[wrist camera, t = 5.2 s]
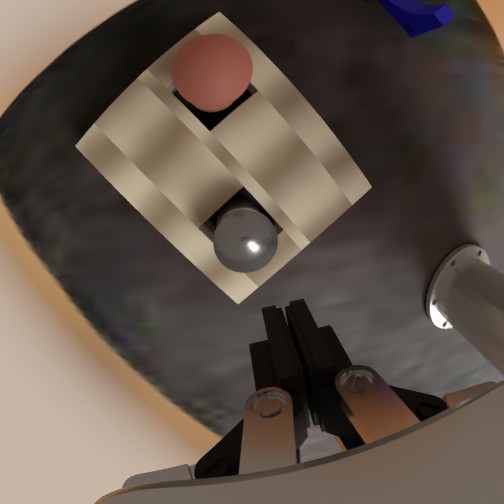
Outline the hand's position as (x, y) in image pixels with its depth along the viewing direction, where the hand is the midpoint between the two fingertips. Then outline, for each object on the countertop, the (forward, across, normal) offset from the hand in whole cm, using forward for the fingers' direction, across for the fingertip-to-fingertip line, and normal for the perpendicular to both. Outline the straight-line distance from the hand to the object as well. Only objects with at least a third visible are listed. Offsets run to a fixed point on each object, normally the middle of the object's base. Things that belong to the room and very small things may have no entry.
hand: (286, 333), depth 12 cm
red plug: (+14, +1, -12) cm, 18 cm away
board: (+17, +1, -6) cm, 18 cm away
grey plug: (+17, +1, 0) cm, 17 cm away
